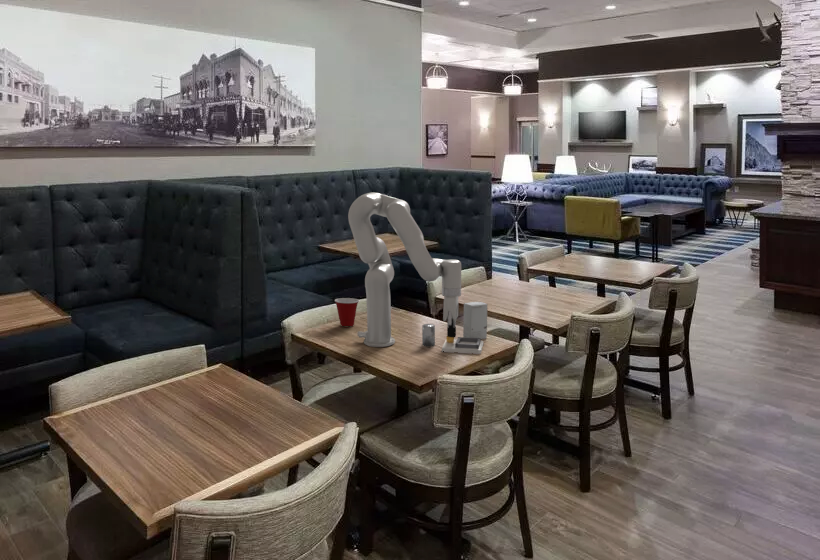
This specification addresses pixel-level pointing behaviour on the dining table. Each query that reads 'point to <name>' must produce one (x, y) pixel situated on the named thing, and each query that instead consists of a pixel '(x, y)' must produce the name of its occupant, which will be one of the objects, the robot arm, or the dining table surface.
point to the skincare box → (475, 320)
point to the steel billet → (428, 335)
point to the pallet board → (464, 345)
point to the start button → (450, 339)
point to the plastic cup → (346, 310)
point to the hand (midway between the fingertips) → (451, 336)
